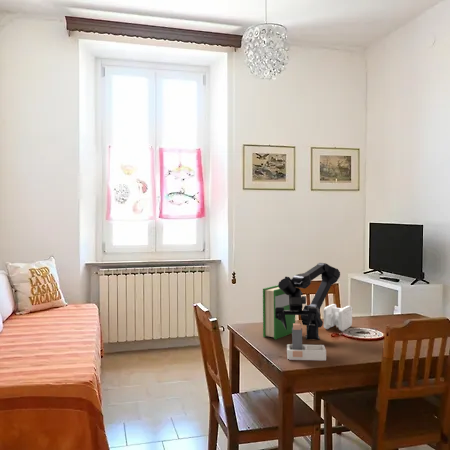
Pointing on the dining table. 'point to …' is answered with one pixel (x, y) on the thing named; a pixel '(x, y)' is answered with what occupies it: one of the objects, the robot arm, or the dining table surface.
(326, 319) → the cable organizer
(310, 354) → the socket strip
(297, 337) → the gray rectangular block
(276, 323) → the hardback book
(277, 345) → the dining table surface
